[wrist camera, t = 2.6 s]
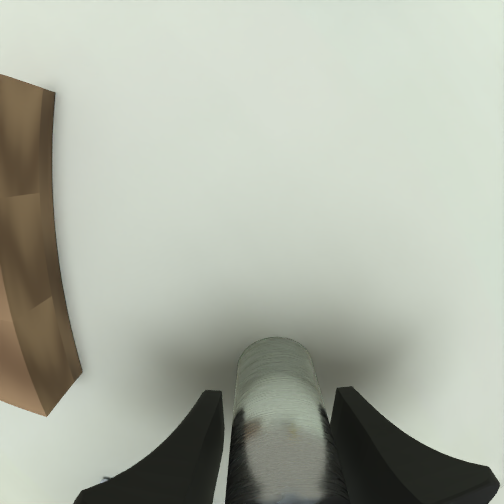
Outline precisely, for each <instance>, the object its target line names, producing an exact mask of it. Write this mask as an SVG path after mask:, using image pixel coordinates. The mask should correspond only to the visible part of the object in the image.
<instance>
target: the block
mask: <svg viewBox="0 0 504 504" xmlns="http://www.w3.org/2000/svg"><path fill="white" fill-rule="evenodd" d="M54 99H55V92H52V91H49V90H46V89H43V88H41V87H38V86H35V85H32V84H29V83H26V82H23V81H20V80H17V79H14V78H11V77H8V76H5V75H2V74H0V400H1V401H3V402H6V403H8V404H11V405H14V406H16V407H19V408H22V409H25V410H28V411H30V412H33V413H36V414H39V415H43V416H46V417H47V416H48V415H49V414H50V412H51V411H52V410H53V408H54V407H55V406H56V405H57V403H58V402H59V401H60V399H61V398H62V397H63V396H64V394H65V393H66V392H67V391H68V389H69V388H70V387H71V386H72V384H73V383H74V382H75V381H76V379H77V378H78V377H79V376H80V375H81V373H82V369H81V365H80V362H79V358H78V355H77V351H76V347H75V343H74V339H73V335H72V331H71V327H70V322H69V318H68V313H67V308H66V303H65V298H64V292H63V287H62V281H61V275H60V268H59V261H58V253H57V245H56V236H55V226H54V213H53V197H52V127H53V111H54Z"/></svg>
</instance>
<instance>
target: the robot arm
mask: <svg viewBox="0 0 504 504" xmlns="http://www.w3.org/2000/svg"><path fill="white" fill-rule="evenodd" d="M330 428H331V431H332V435H333V439H334V442H335V446H336V450H337V454H338V457H339V461H340V465H341V469H342V472H343V476H344V480H345V484H346V488H347V492H348V496H349V500H350V504H488V503H489V502H490V501H491V500H492V498H493V497H494V496H495V494H496V493H497V491H498V489H499V487H500V483H499V481H498V480H497V478H496V477H495V475H494V474H493V472H492V471H491V469H490V468H489V467H488V466H483V465H478V464H474V463H469V462H466V461H462V460H459V459H456V458H453V457H450V456H448V455H445V454H443V453H440V452H438V451H436V450H434V449H432V448H430V447H428V446H426V445H424V444H422V443H420V442H419V441H417V440H415V439H414V438H412V437H410V436H409V435H407V434H406V433H404V432H403V431H401V430H400V429H399V428H397V427H396V426H395V425H393V424H392V423H391V422H390V421H388V420H387V419H386V418H385V417H384V416H383V415H381V414H380V413H379V412H378V411H377V410H376V409H375V408H374V407H373V406H372V405H370V404H369V403H368V402H367V401H366V400H365V399H364V398H363V397H362V396H361V395H360V394H359V393H358V392H357V391H356V390H355V389H354V388H353V387H352V386H351V387H341V388H337V389H336V395H335V401H334V406H333V412H332V417H331V422H330ZM224 429H225V427H224V415H223V403H222V391H213V390H205V391H204V392H203V393H202V395H201V396H200V398H199V399H198V401H197V402H196V404H195V405H194V407H193V408H192V409H191V411H190V412H189V414H188V415H187V416H186V417H185V419H184V420H183V421H182V422H181V424H180V425H179V426H178V427H177V428H176V429H175V430H174V431H173V432H172V433H171V435H170V436H169V437H168V438H167V439H166V440H165V441H164V442H163V443H162V444H161V445H159V446H158V447H157V448H156V449H155V450H154V451H153V452H151V453H150V454H149V455H148V456H146V457H145V458H144V459H142V460H141V461H139V462H138V463H137V464H135V465H134V466H132V467H131V468H129V469H127V470H126V471H124V472H122V473H120V474H119V475H117V476H115V477H113V478H111V479H109V480H107V479H102V480H101V483H100V484H98V485H95V486H93V487H90V488H88V489H85V490H82V491H81V492H80V494H79V495H78V497H77V498H76V500H75V501H74V503H73V504H212V503H213V496H214V491H215V486H216V481H217V477H218V472H219V467H220V462H221V457H222V452H223V443H224Z"/></svg>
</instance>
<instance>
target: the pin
mask: <svg viewBox="0 0 504 504" xmlns="http://www.w3.org/2000/svg"><path fill="white" fill-rule="evenodd" d="M225 504H350V500H349V496H348V492H347V488H346V484H345V480H344V476H343V472H342V469H341V465H340V461H339V457H338V454H337V450H336V446H335V442H334V439H333V435H332V431H331V428H330V424H329V420H328V417H327V413H326V410H325V406H324V402H323V399H322V395H321V392H320V388H319V385H318V381H317V378H316V374H315V371H314V367H313V364H312V360H311V357H310V355H309V353H308V351H307V350H306V349H305V348H304V347H303V346H302V345H301V344H299V343H298V342H296V341H294V340H291V339H288V338H282V337H271V338H266V339H262V340H260V341H257V342H255V343H254V344H252V345H251V346H249V347H248V348H247V349H246V350H245V351H244V352H243V354H242V355H241V357H240V359H239V362H238V369H237V379H236V390H235V400H234V411H233V422H232V432H231V443H230V454H229V465H228V476H227V486H226V497H225Z"/></svg>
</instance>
